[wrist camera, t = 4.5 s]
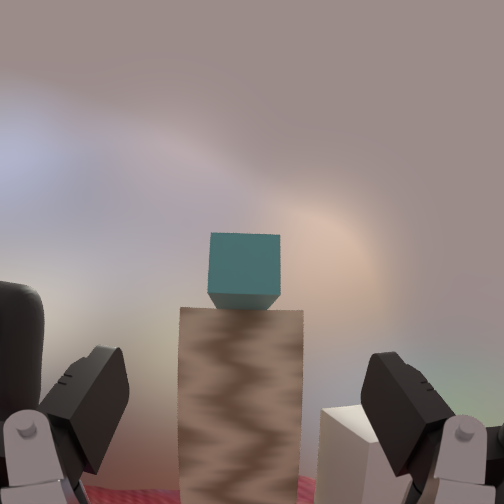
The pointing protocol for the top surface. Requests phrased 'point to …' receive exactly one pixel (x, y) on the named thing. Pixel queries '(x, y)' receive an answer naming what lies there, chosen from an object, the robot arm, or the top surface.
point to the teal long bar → (244, 270)
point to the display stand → (239, 405)
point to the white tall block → (354, 462)
